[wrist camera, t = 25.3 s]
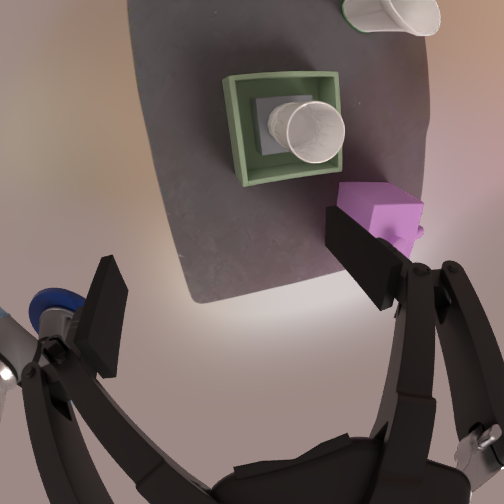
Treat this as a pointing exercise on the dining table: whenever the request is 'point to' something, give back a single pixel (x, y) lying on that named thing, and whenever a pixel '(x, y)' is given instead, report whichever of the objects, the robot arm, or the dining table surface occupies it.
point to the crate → (241, 126)
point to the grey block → (260, 120)
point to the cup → (393, 15)
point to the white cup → (308, 129)
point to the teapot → (383, 212)
